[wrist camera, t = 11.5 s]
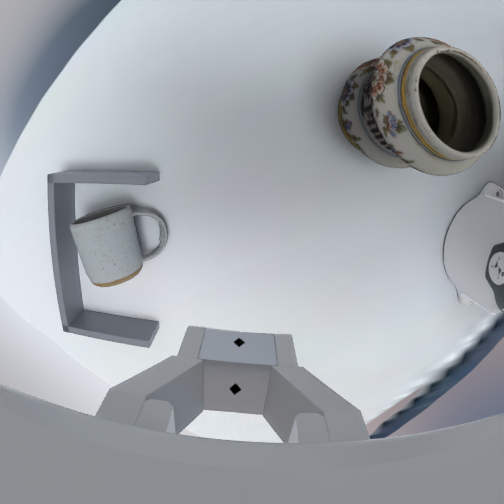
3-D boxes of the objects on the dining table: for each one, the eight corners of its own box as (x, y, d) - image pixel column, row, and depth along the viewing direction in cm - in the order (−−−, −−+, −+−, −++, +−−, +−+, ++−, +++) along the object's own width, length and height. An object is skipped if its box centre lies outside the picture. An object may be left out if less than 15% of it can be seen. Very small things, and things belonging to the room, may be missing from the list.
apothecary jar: (321, 152, 35) (379, 155, 18) (336, 58, 31) (396, -4, 14) (411, 175, 36) (506, 199, 18) (424, 87, 32) (518, 63, 15)
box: (159, 172, 36) (145, 175, 31) (159, 327, 42) (149, 347, 38) (68, 170, 36) (47, 174, 31) (79, 314, 42) (63, 331, 37)
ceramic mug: (105, 271, 40) (80, 295, 33) (87, 213, 37) (57, 227, 30) (177, 257, 39) (161, 281, 32) (160, 193, 37) (140, 204, 30)
